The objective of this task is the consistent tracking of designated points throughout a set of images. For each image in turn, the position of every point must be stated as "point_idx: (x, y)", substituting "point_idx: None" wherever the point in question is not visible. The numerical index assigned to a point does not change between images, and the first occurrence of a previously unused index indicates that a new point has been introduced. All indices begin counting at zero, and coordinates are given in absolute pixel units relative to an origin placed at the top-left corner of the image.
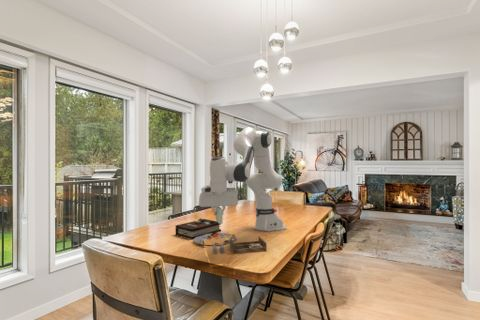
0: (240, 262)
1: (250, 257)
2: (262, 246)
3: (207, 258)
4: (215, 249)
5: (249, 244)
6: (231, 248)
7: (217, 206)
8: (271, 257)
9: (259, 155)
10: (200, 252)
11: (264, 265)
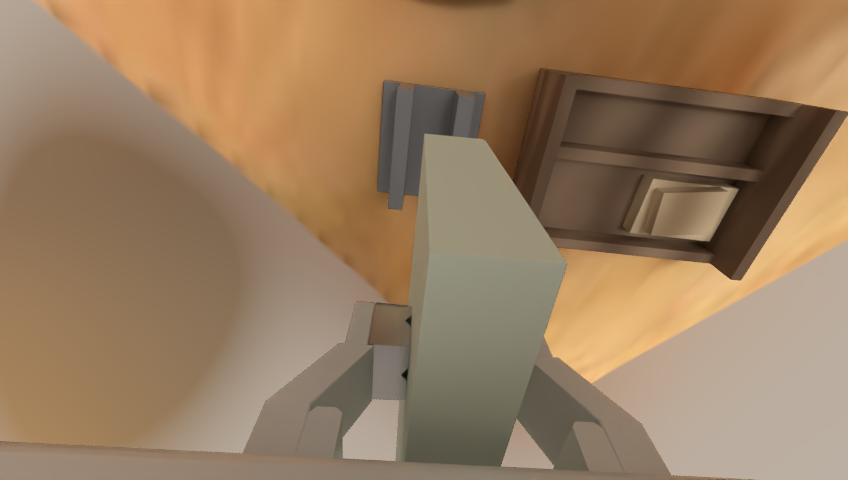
0: None
1: (571, 273)
2: (731, 207)
3: (341, 208)
4: (391, 207)
5: (669, 170)
6: (529, 140)
7: (490, 301)
8: (664, 306)
9: None
10: (303, 70)
11: None
